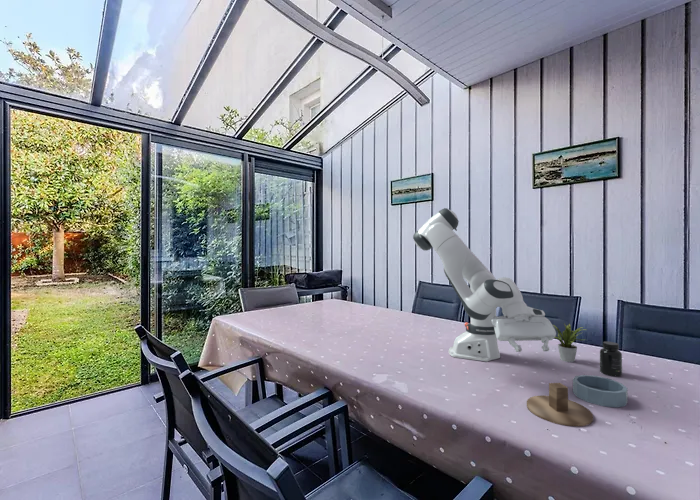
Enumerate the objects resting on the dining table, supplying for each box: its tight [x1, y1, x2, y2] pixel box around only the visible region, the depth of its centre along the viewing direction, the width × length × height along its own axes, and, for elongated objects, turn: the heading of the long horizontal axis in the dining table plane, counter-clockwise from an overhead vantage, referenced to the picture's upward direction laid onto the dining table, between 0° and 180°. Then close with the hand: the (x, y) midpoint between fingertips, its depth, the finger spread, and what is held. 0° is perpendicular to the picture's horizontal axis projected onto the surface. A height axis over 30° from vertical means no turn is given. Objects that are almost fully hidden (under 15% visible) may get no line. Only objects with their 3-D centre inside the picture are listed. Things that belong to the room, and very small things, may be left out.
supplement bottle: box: [599, 340, 623, 378], centre depth 129 cm, size 7×7×12 cm
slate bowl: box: [572, 374, 629, 408], centre depth 110 cm, size 14×14×4 cm
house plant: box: [552, 322, 588, 363], centre depth 144 cm, size 14×14×16 cm
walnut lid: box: [526, 382, 594, 427], centre depth 101 cm, size 17×17×8 cm
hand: (532, 350), depth 113 cm, fingers open, 8 cm apart
